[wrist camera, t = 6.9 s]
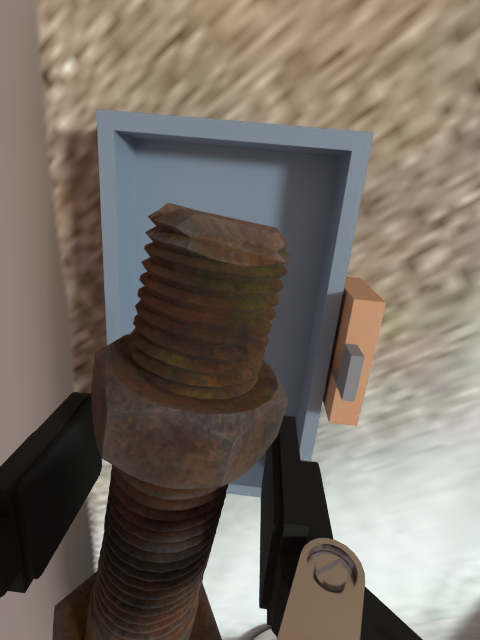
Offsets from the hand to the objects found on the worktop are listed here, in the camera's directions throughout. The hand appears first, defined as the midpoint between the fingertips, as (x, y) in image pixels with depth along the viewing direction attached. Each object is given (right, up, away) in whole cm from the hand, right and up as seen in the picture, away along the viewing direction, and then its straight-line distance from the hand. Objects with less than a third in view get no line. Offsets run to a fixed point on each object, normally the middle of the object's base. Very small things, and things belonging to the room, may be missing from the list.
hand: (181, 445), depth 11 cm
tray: (+1, +4, +12) cm, 12 cm away
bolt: (0, 0, +1) cm, 1 cm away
